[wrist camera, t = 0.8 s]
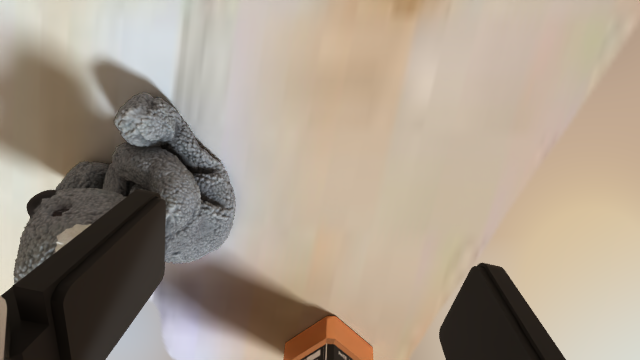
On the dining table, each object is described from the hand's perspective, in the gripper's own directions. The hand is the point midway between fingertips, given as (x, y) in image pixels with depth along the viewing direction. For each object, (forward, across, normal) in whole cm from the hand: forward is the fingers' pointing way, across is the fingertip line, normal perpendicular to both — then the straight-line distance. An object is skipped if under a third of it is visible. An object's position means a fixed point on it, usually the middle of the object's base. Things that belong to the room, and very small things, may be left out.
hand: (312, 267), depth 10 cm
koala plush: (+27, +16, +14) cm, 35 cm away
